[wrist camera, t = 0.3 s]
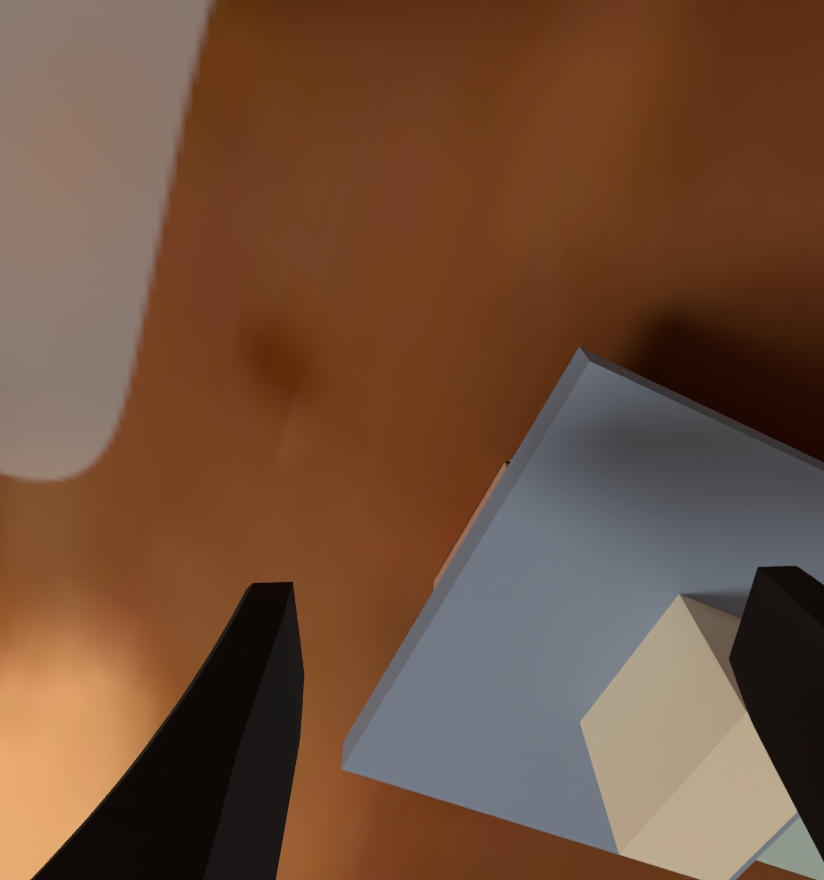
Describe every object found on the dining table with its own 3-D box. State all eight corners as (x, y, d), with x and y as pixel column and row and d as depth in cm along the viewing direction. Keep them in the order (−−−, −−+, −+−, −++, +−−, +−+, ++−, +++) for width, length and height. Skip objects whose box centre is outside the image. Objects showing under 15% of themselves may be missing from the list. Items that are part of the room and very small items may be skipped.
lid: (715, 859, 25) (785, 1026, 21) (343, 741, 22) (331, 906, 18) (1016, 553, 20) (1199, 689, 15) (579, 346, 17) (647, 439, 12)
